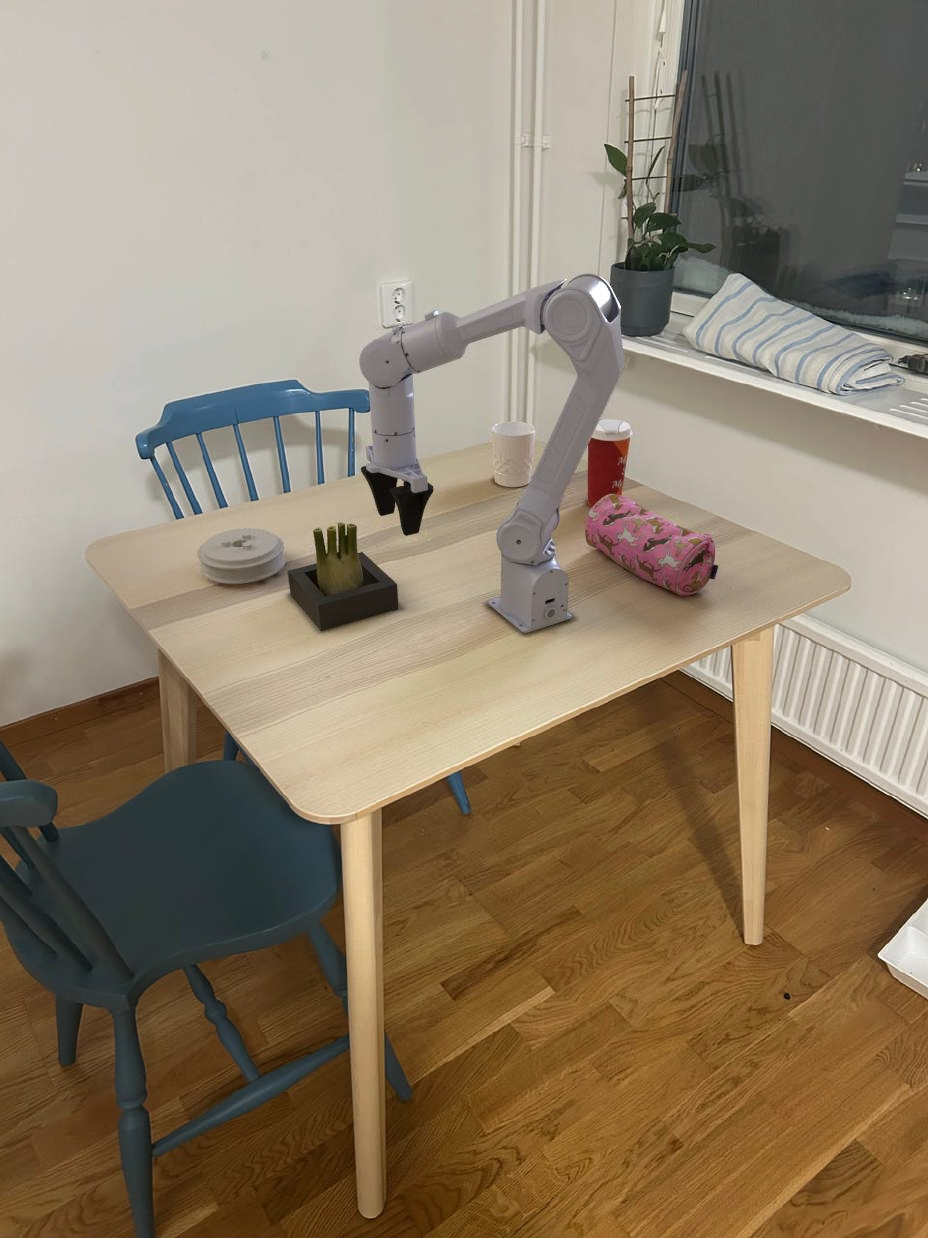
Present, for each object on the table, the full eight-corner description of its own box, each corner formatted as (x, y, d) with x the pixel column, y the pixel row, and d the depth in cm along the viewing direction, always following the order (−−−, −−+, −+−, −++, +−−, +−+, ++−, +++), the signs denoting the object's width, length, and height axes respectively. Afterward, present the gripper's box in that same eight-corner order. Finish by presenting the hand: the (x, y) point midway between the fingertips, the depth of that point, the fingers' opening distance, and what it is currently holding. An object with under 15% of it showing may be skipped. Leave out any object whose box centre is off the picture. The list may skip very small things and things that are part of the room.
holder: (398, 609, 124) (397, 583, 122) (320, 631, 119) (318, 605, 117) (364, 575, 132) (362, 551, 130) (290, 595, 127) (287, 570, 125)
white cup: (488, 487, 161) (488, 434, 156) (494, 471, 168) (494, 420, 163) (531, 489, 160) (533, 436, 155) (535, 473, 167) (537, 422, 162)
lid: (261, 594, 128) (257, 563, 125) (184, 582, 131) (178, 552, 128) (300, 556, 138) (297, 527, 136) (228, 546, 141) (223, 517, 139)
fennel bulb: (317, 608, 124) (309, 530, 118) (329, 591, 128) (322, 515, 122) (357, 612, 123) (350, 533, 117) (368, 595, 127) (362, 518, 121)
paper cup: (629, 512, 151) (636, 432, 144) (584, 512, 152) (589, 432, 144) (622, 494, 158) (629, 417, 151) (579, 494, 158) (584, 417, 151)
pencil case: (721, 588, 128) (730, 532, 124) (675, 606, 124) (683, 549, 119) (618, 536, 143) (623, 484, 139) (574, 551, 139) (578, 498, 134)
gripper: (343, 419, 120) (350, 511, 127) (390, 450, 110) (396, 549, 116) (389, 410, 123) (395, 501, 130) (440, 440, 113) (443, 537, 119)
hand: (398, 523), depth 124 cm, fingers open, 7 cm apart
